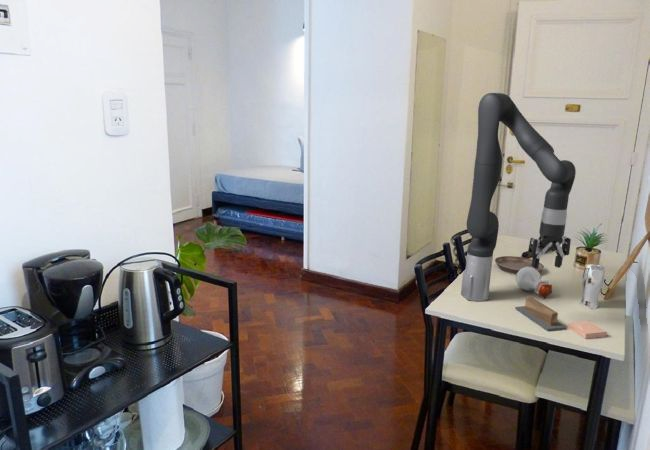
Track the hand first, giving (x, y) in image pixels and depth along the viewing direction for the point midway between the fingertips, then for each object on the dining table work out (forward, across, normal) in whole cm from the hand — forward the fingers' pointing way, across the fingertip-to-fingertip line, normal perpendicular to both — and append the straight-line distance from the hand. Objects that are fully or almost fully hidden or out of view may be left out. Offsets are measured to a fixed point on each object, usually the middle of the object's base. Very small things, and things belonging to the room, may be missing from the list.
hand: (546, 267), depth 169 cm
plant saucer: (+19, +23, +47) cm, 56 cm away
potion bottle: (+19, +13, +22) cm, 31 cm away
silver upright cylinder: (+19, +26, +6) cm, 32 cm away
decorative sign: (+19, +47, +66) cm, 84 cm away
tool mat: (+18, 0, -1) cm, 18 cm away
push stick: (+18, 0, -1) cm, 18 cm away
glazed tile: (+18, +9, -9) cm, 21 cm away
